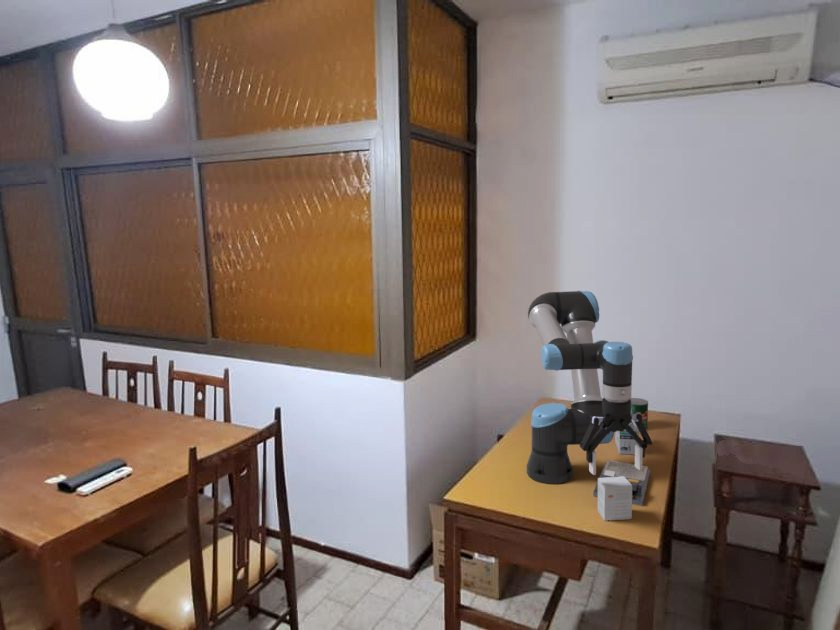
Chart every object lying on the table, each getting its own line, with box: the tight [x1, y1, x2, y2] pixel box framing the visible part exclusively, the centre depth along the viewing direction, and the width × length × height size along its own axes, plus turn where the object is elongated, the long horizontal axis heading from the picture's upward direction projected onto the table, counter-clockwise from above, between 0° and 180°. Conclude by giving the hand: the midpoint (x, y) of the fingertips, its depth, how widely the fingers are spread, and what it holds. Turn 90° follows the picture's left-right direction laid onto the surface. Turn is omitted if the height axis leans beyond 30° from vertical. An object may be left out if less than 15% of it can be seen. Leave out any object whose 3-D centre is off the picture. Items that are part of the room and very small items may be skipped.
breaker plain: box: [603, 470, 615, 478], centre depth 166 cm, size 7×3×2 cm, turn 152°
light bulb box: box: [614, 419, 640, 456], centre depth 195 cm, size 11×7×11 cm, turn 168°
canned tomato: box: [630, 397, 649, 430], centre depth 214 cm, size 8×8×11 cm
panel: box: [592, 459, 651, 507], centre depth 169 cm, size 22×14×4 cm, turn 152°
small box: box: [597, 476, 633, 522], centre depth 152 cm, size 8×6×10 cm
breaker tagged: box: [628, 479, 639, 491], centre depth 162 cm, size 7×3×2 cm, turn 151°
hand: (615, 470), depth 150 cm, fingers open, 13 cm apart
